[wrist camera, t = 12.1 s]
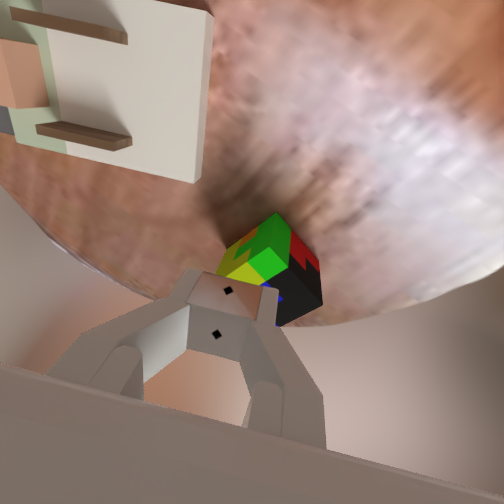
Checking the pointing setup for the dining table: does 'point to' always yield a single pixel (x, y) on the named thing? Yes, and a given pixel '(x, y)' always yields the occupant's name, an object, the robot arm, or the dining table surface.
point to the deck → (121, 82)
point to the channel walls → (63, 128)
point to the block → (21, 76)
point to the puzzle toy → (276, 267)
